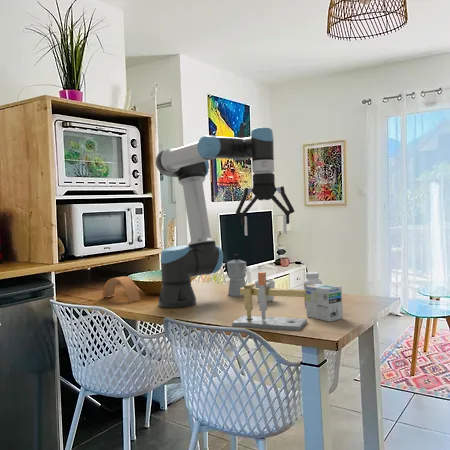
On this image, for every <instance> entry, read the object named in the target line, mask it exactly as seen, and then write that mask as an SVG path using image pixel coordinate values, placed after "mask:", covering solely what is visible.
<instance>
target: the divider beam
mask: <svg viewBox="0 0 450 450" xmlns="http://www.w3.org/2000/svg"><path fill="white" fill-rule="evenodd" d="M266 289H267V296H274V297H293V298H294V297H295V298H304V297H306V296H307V295H306V290H304V289H299V288H298V289H294V288H291V289H289V288H274V289H269V288H266ZM240 295H244V296H243V297H244V310H245V311H246V315H247V319H251V316H252V310H253V309H254V306H253V305H254V304H253V300H254V299H253V296H257V295H259V288H256V286H255V282H254V283H253V282H250V283H246V285H244V288H240Z"/></svg>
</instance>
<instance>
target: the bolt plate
mask: <svg viewBox="0 0 450 450" xmlns="http://www.w3.org/2000/svg"><path fill="white" fill-rule="evenodd" d="M307 323H308V319H307V318H300V317H299V318H296V317H283V316H282V317H279V316H266V319H265V320H262V315H251V319H247V314H246V315H241V316H240V317H239V318H237V319H235V320H234V321H232V323H231V324H232V325H231V326H232V327H242V328H244V327H245V328H257V329H268V328H270V330H271V329H272V330H283V329H285V330H284V331H297V330H299V331H301V330H302V329H303V327H305V326H306V324H307Z"/></svg>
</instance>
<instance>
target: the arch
mask: <svg viewBox="0 0 450 450" xmlns="http://www.w3.org/2000/svg"><path fill="white" fill-rule="evenodd" d="M118 283H119V284H120V285H121V286H122V287H123V289H124V291H125V294H126V297H127V303H128V302H132V303H135V302H134V301H137V302H140V301H141V297H140V293H139V290H138V287H137V285H136V284H135V282H134V281H133V280H132V279H131V278H130V277H129V276H125V275H124V276H119V277H118V276H117V277H112V278H109V279H108V280H107V281H106V282H105V284H104V285H103V290H102V298H103V297H108V296H112V295H114V296H115V289H116V286H117V284H118ZM139 300H140V301H139Z"/></svg>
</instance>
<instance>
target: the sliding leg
mask: <svg viewBox="0 0 450 450" xmlns="http://www.w3.org/2000/svg"><path fill="white" fill-rule="evenodd" d="M257 279H258V280H257V281H258V287H259V300H258V305H259V307H258V308H259V309H258V310H259V311H261V316H262V320H265V319H266V317H267V316H266V311H268V302H267V289H266V288H269V289H270V283H266V280H267V273H266V272H265V271H260V272H258V273H257Z"/></svg>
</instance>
